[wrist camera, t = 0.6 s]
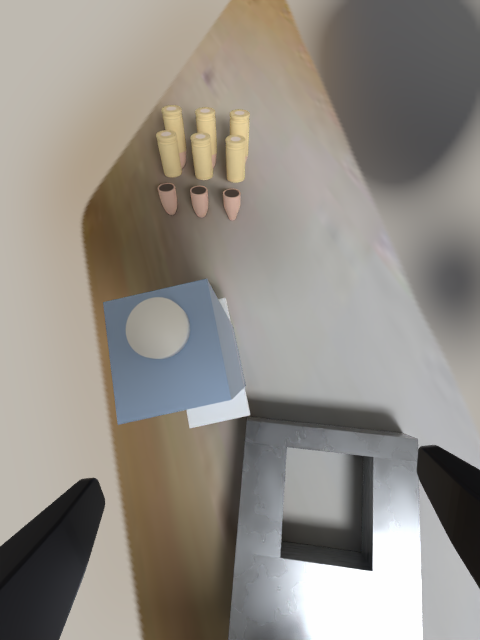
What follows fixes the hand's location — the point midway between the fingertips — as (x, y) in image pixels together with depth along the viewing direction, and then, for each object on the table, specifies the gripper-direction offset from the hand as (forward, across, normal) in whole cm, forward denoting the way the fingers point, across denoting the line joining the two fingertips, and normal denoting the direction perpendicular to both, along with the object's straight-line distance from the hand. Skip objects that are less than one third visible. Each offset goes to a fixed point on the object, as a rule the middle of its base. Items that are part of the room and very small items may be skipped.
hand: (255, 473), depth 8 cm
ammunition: (+24, +2, -11) cm, 26 cm away
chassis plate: (+9, -4, +15) cm, 18 cm away
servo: (+15, +3, +4) cm, 16 cm away
